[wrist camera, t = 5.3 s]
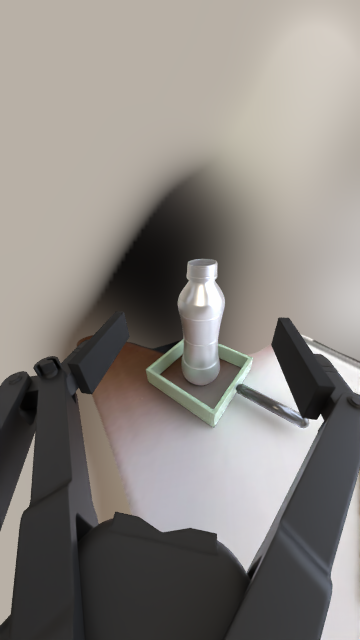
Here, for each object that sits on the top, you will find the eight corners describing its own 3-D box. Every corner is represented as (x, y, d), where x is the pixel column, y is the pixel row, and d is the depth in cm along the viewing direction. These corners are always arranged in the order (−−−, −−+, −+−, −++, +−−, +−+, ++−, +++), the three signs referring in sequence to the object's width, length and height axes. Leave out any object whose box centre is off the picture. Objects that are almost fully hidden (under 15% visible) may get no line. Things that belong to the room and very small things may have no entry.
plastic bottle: (226, 377, 32) (241, 262, 22) (197, 398, 29) (199, 274, 19) (202, 357, 37) (204, 254, 27) (174, 373, 34) (165, 262, 23)
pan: (147, 381, 32) (145, 369, 31) (191, 343, 41) (191, 332, 39) (292, 484, 20) (300, 472, 18) (311, 397, 28) (318, 384, 27)
